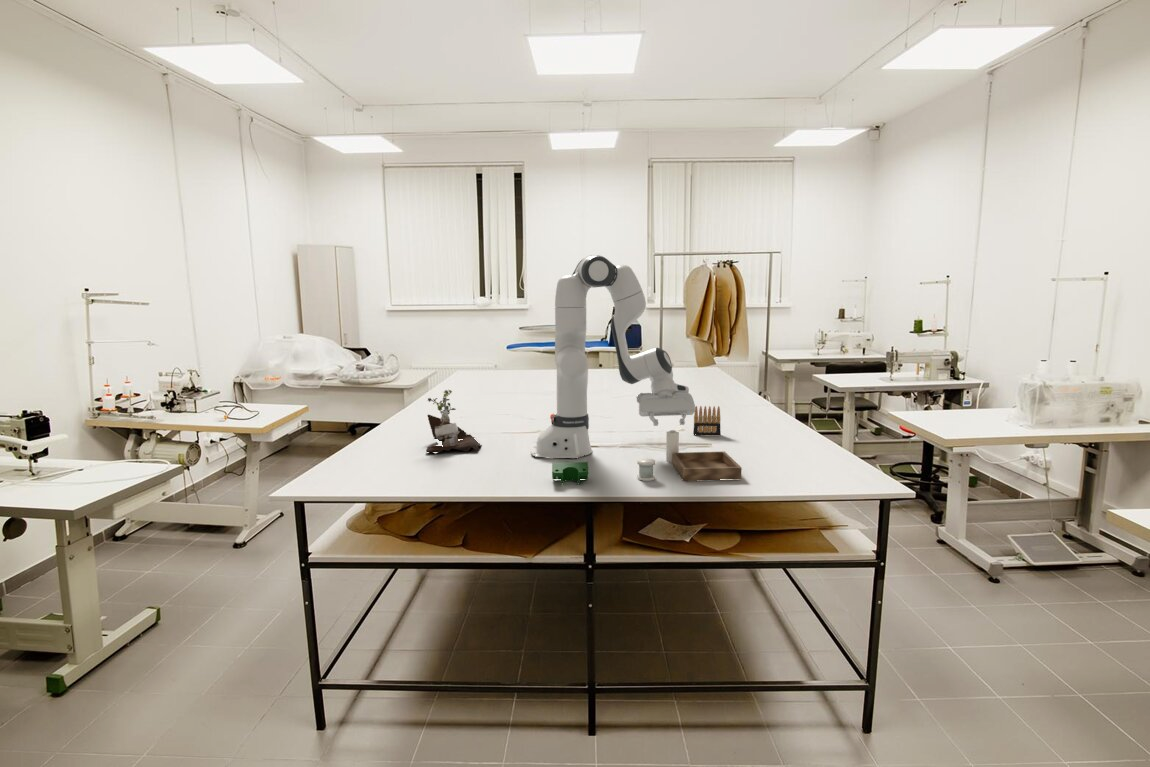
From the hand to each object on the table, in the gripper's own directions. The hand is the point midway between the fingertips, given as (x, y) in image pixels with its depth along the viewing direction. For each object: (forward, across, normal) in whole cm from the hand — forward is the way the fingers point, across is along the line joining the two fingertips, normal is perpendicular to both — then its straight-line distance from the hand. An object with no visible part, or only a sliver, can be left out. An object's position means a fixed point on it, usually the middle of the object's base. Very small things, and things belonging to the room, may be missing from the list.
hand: (669, 424), depth 209 cm
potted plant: (-6, -79, +22) cm, 82 cm away
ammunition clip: (-11, +21, +27) cm, 36 cm away
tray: (+22, +8, -6) cm, 24 cm away
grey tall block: (+13, 0, +3) cm, 13 cm away
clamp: (+27, -36, -11) cm, 46 cm away
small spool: (+26, -12, -10) cm, 30 cm away
